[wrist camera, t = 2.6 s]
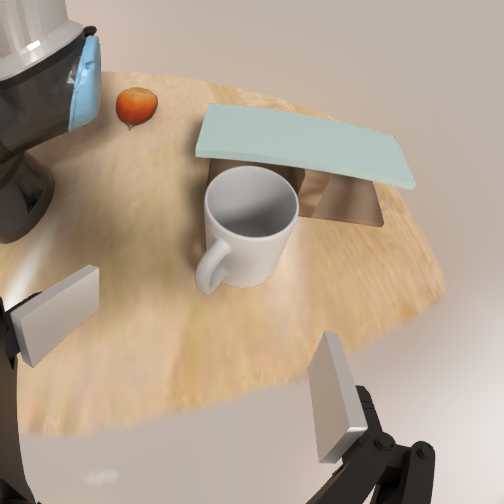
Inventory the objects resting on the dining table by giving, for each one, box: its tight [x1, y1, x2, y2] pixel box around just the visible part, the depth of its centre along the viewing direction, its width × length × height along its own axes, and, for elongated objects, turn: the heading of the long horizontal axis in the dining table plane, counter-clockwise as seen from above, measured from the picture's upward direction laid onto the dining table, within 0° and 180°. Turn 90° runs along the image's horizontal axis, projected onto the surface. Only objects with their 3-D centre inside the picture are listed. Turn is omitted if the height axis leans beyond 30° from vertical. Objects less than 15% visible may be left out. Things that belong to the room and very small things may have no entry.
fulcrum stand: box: [207, 158, 384, 227], centre depth 36 cm, size 26×12×8 cm, turn 88°
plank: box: [195, 104, 416, 190], centre depth 32 cm, size 28×10×1 cm, turn 88°
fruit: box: [116, 87, 158, 131], centre depth 41 cm, size 8×8×8 cm
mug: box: [195, 166, 299, 294], centre depth 27 cm, size 12×8×11 cm
